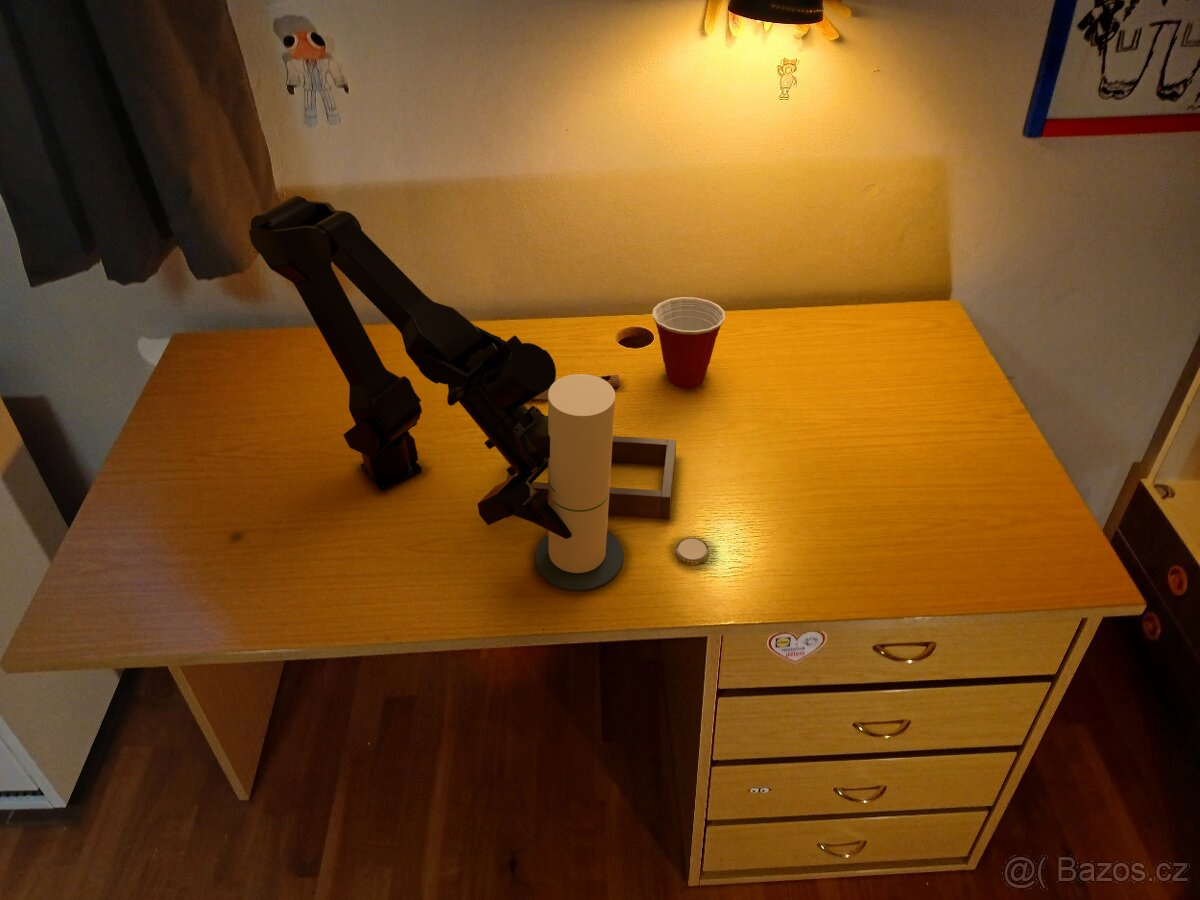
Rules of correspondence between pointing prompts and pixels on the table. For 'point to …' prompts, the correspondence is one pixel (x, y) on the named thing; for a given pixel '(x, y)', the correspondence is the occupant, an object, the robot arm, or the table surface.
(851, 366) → the table surface
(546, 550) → the coaster
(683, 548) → the bottle cap
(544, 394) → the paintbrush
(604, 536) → the cylindrical container
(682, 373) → the plastic cup
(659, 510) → the rectangular frame
